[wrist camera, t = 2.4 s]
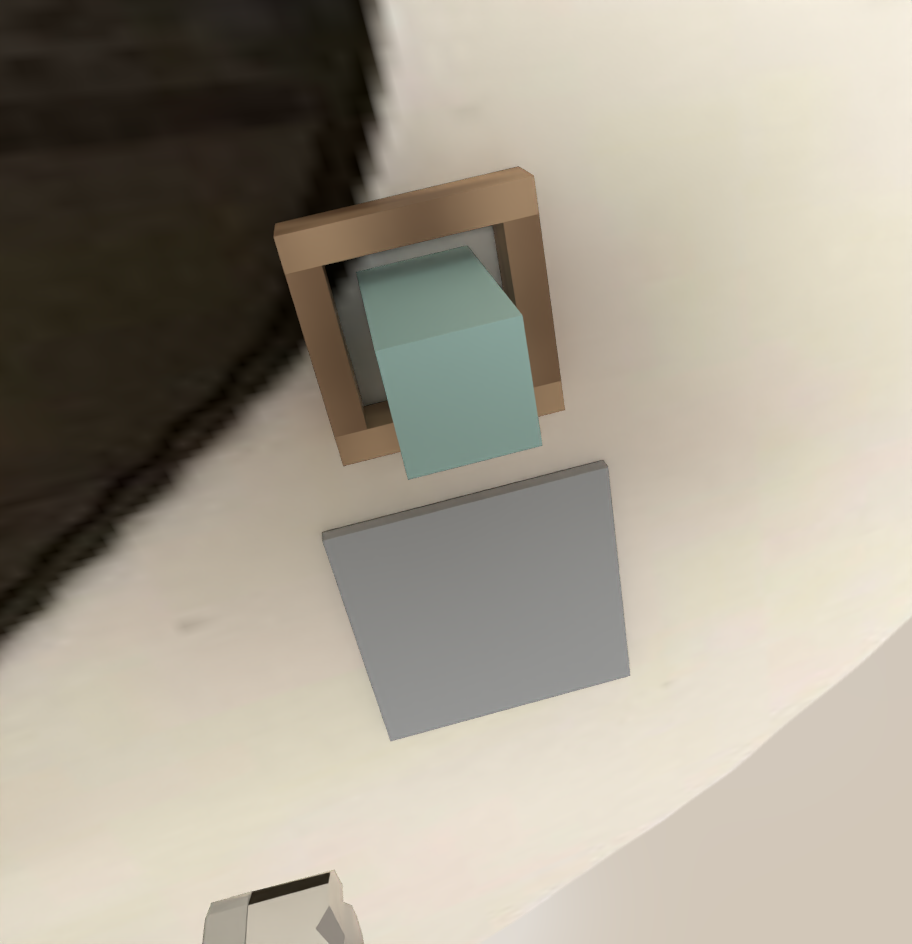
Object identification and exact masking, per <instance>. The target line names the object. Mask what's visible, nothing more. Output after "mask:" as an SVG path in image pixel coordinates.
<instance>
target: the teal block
mask: <svg viewBox="0 0 912 944" xmlns="http://www.w3.org/2000/svg"><path fill="white" fill-rule="evenodd" d="M356 273H357V278H358V282H359V286H360V290H361V295H362V299H363V303H364V307H365V312H366V316H367V320H368V324H369V328H370V333H371V337H372V341H373V345H374V350H375V354H376V358H377V361H378V365H379V369H380V373H381V377H382V381H383V385H384V388H385V392H386V396H387V400H388V404H389V408H390V412H391V415H392V419H393V423H394V427H395V431H396V435H397V439H398V442H399V446H400V450H401V454H402V458H403V462H404V466H405V469H406V473H407V477H408V480H409V479H413V478H417V477H421V476H425V475H429V474H433V473H437V472H441V471H445V470H449V469H452V468H456V467H460V466H464V465H468V464H472V463H476V462H480V461H484V460H488V459H492V458H496V457H500V456H504V455H507V454H511V453H515V452H519V451H523V450H527V449H531V448H535V447H539V446H542V440H541V433H540V427H539V420H538V414H537V407H536V400H535V394H534V387H533V381H532V374H531V368H530V361H529V355H528V348H527V342H526V335H525V329H524V322H523V316H522V314H521V313H520V311H519V310H518V309H517V308H516V306H515V305H514V304H513V303H512V301H511V300H510V299H509V298H508V296H507V295H506V294H505V293H504V291H503V290H502V289H501V287H500V286H499V285H498V284H497V282H496V281H495V280H494V279H493V277H492V276H491V275H490V274H489V272H488V271H487V270H486V269H485V267H484V266H483V265H482V264H481V262H480V261H479V260H478V258H477V257H476V256H475V255H474V253H473V252H472V251H471V250H470V248H469V247H468V246H463V247H459V248H455V249H450V250H446V251H442V252H438V253H434V254H430V255H425V256H421V257H417V258H413V259H409V260H404V261H400V262H396V263H392V264H388V265H384V266H379V267H375V268H371V269H367V270H363V271H358V272H356Z"/></svg>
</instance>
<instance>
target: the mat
mask: <svg viewBox="0 0 912 944" xmlns="http://www.w3.org/2000/svg"><path fill="white" fill-rule="evenodd" d="M322 541H323V544H324V547H325V550H326V553H327V556H328V559H329V562H330V564H331V567H332V570H333V573H334V576H335V579H336V582H337V585H338V588H339V591H340V594H341V597H342V600H343V603H344V606H345V609H346V612H347V615H348V617H349V620H350V623H351V626H352V629H353V632H354V635H355V638H356V641H357V644H358V647H359V650H360V653H361V656H362V659H363V662H364V665H365V667H366V670H367V673H368V676H369V679H370V682H371V685H372V688H373V691H374V694H375V697H376V700H377V703H378V706H379V709H380V712H381V715H382V718H383V720H384V723H385V726H386V729H387V732H388V735H389V738H390V741H394V740H397V739H401V738H405V737H408V736H412V735H415V734H419V733H423V732H426V731H430V730H434V729H437V728H441V727H445V726H448V725H452V724H456V723H459V722H463V721H467V720H470V719H474V718H478V717H481V716H485V715H489V714H492V713H496V712H500V711H503V710H507V709H511V708H514V707H518V706H521V705H525V704H529V703H532V702H536V701H540V700H543V699H547V698H551V697H554V696H558V695H562V694H565V693H569V692H573V691H576V690H580V689H584V688H587V687H591V686H595V685H598V684H602V683H606V682H609V681H613V680H616V679H620V678H624V677H627V676H630V669H629V660H628V650H627V641H626V632H625V622H624V613H623V603H622V594H621V584H620V575H619V566H618V556H617V547H616V537H615V528H614V519H613V509H612V500H611V490H610V481H609V471H608V466H607V465H606V464H605V462H604V461H599V462H595V463H591V464H587V465H583V466H579V467H575V468H572V469H568V470H564V471H560V472H556V473H552V474H548V475H544V476H540V477H537V478H533V479H529V480H525V481H521V482H517V483H513V484H509V485H505V486H502V487H498V488H494V489H490V490H486V491H482V492H478V493H474V494H471V495H467V496H463V497H459V498H455V499H451V500H447V501H443V502H439V503H436V504H432V505H428V506H424V507H420V508H416V509H412V510H408V511H404V512H401V513H397V514H393V515H389V516H385V517H381V518H377V519H373V520H370V521H366V522H362V523H358V524H354V525H350V526H346V527H342V528H338V529H335V530H331V531H327V532H323V533H322Z"/></svg>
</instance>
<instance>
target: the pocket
mask: <svg viewBox="0 0 912 944" xmlns="http://www.w3.org/2000/svg"><path fill="white" fill-rule="evenodd" d="M490 225H493V230H494V236H495V242H496V249H497V255H498V261H499V267H500V273H501V279H502V285H503V291H504V293H505V294H506V295H507V296H508V298H509V299H510V300H511V301H512V303H513V304H514V305H515V306H516V308H517V309H518V310H519V311H520V313H521V314H522V316H523V322H524V329H525V335H526V342H527V348H528V355H529V361H530V368H531V374H532V381H533V387H534V394H535V400H536V407H537V414H538V417H540V416H544V415H547V414H551V413H555V412H559V411H563V410H565V406H564V399H563V391H562V384H561V376H560V369H559V361H558V354H557V346H556V339H555V331H554V324H553V316H552V309H551V301H550V294H549V286H548V279H547V271H546V263H545V256H544V248H543V241H542V233H541V226H540V218H539V211H538V203H537V196H536V188H535V181H534V175H532V174H530V173H529V172H527V171H525V170H524V169H522V168H520V167H514V168H510V169H506V170H502V171H497V172H493V173H489V174H485V175H480V176H476V177H472V178H467V179H463V180H459V181H455V182H450V183H446V184H442V185H438V186H433V187H429V188H425V189H421V190H416V191H412V192H408V193H404V194H399V195H395V196H391V197H386V198H382V199H378V200H374V201H369V202H365V203H361V204H357V205H352V206H348V207H344V208H340V209H335V210H331V211H327V212H323V213H318V214H314V215H310V216H305V217H301V218H297V219H293V220H288V221H284V222H280V223H276V224H275V229H274V240H275V243H276V247H277V250H278V253H279V257H280V260H281V263H282V266H283V270H284V273H285V276H286V280H287V283H288V286H289V289H290V293H291V296H292V299H293V302H294V306H295V309H296V312H297V316H298V319H299V322H300V325H301V329H302V332H303V335H304V339H305V342H306V345H307V348H308V352H309V355H310V358H311V362H312V365H313V368H314V371H315V375H316V378H317V381H318V384H319V388H320V391H321V394H322V398H323V401H324V404H325V407H326V411H327V414H328V417H329V421H330V424H331V427H332V430H333V434H334V437H335V440H336V443H337V447H338V450H339V453H340V457H341V460H342V463H343V466H346V465H350V464H354V463H358V462H362V461H366V460H370V459H374V458H378V457H381V456H385V455H389V454H393V453H397V452H401V450H400V446H399V442H398V439H397V435H396V431H395V427H394V423H393V419H392V415H391V412H390V408H389V404H388V401H384V402H380V403H376V404H372V405H368V406H363V403H362V399H361V396H360V392H359V388H358V385H357V381H356V378H355V374H354V370H353V367H352V363H351V360H350V356H349V352H348V349H347V345H346V342H345V338H344V334H343V331H342V327H341V324H340V320H339V316H338V313H337V309H336V306H335V302H334V298H333V295H332V291H331V288H330V284H329V280H328V277H327V273H326V269H325V266H324V265H327V264H331V263H335V262H339V261H343V260H348V259H352V258H356V257H360V256H364V255H369V254H373V253H377V252H381V251H385V250H390V249H394V248H398V247H402V246H406V245H411V244H415V243H419V242H423V241H427V240H431V239H436V238H440V237H444V236H448V235H452V234H457V233H461V232H465V231H469V230H473V229H478V228H482V227H486V226H490Z"/></svg>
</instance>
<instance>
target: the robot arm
mask: <svg viewBox="0 0 912 944" xmlns="http://www.w3.org/2000/svg"><path fill="white" fill-rule="evenodd" d="M202 944H364V942H363V936H362V932H361V928H360V925H359V921H358V918H357V915H356V913H355V911H354V909H353V906H352V905H350V904H347V903H345V902H343V887H342V883H341V881H340V879H339V877H338V875H337V873H336V872H335V870H331V871H327V872H323V873H320V874H316V875H312V876H309V877H305V878H301V879H297V880H294V881H290V882H286V883H283V884H279V885H275V886H271V887H268V888H264V889H260V890H257V891H251V892H247V893H244V894H240V895H237V896H233V897H230V898H227V899H223V900H220V901H216V902H213V903H211V905H210V908H209V910H208V913H207V916H206V918H205V925H204V934H203V943H202Z"/></svg>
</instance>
